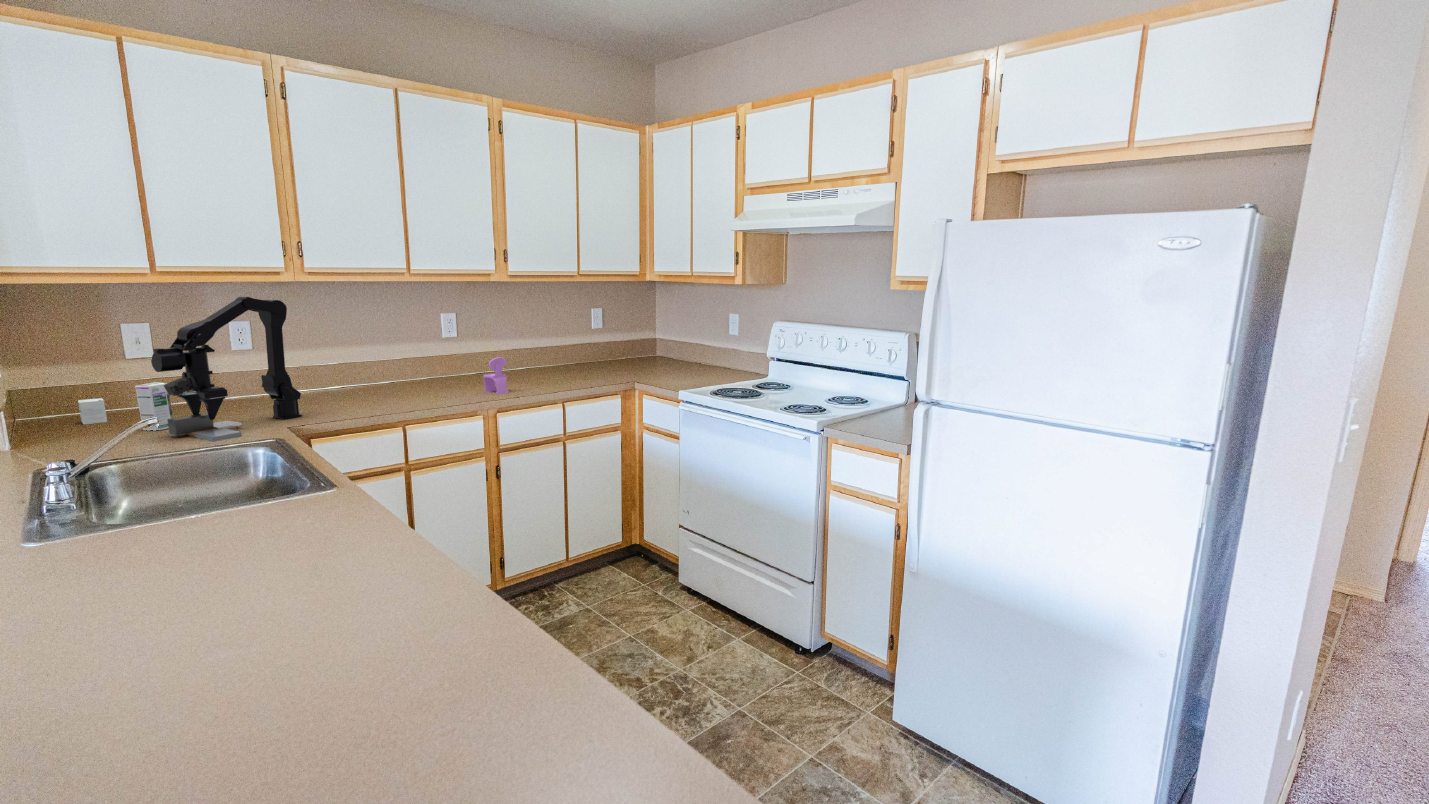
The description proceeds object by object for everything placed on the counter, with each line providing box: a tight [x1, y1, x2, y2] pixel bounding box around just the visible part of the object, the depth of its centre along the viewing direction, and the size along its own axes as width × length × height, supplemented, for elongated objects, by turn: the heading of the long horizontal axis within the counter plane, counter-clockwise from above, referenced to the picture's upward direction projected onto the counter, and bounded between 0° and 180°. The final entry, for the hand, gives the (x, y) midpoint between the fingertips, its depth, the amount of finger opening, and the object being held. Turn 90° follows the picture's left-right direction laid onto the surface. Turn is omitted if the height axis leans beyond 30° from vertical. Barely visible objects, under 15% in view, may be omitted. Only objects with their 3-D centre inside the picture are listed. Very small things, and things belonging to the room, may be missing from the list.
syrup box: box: [134, 381, 174, 432], centre depth 210 cm, size 6×6×14 cm
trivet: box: [184, 426, 238, 438], centre depth 208 cm, size 11×11×1 cm
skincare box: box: [77, 397, 108, 425], centre depth 220 cm, size 6×6×7 cm
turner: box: [167, 412, 243, 436], centre depth 207 cm, size 17×8×4 cm, turn 153°
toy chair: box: [482, 356, 510, 395], centre depth 279 cm, size 8×9×15 cm
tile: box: [195, 428, 243, 442], centre depth 201 cm, size 2×9×8 cm
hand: (204, 418), depth 207 cm, fingers open, 9 cm apart
